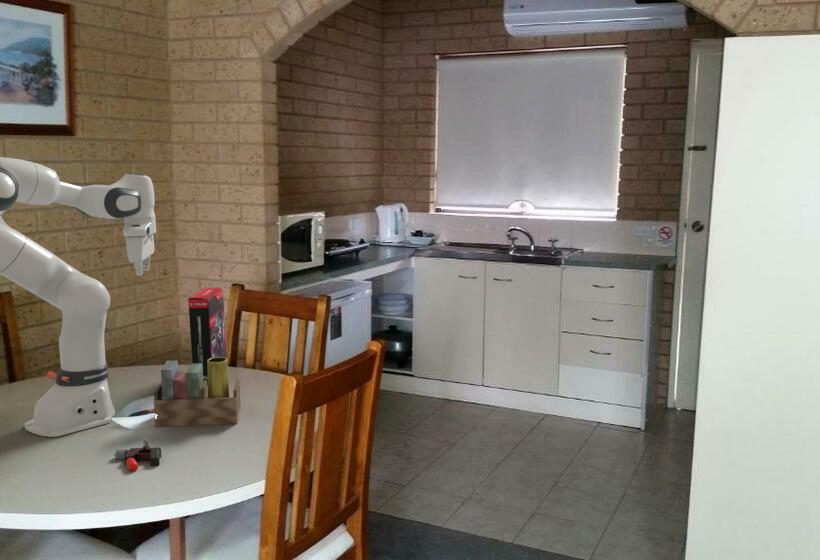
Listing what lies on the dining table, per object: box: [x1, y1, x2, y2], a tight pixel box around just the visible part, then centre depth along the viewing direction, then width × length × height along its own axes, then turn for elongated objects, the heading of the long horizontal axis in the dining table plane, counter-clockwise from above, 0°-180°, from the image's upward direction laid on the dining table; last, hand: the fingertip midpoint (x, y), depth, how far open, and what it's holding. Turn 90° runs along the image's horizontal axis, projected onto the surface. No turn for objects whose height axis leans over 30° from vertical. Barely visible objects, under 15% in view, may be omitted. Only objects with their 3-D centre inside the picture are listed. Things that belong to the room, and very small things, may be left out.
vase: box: [207, 357, 230, 398], centre depth 203 cm, size 6×6×14 cm
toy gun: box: [112, 436, 162, 472], centre depth 175 cm, size 10×12×5 cm
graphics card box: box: [187, 287, 228, 384], centre depth 239 cm, size 17×7×27 cm, turn 179°
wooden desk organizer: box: [153, 360, 242, 428], centre depth 203 cm, size 21×11×15 cm, turn 97°
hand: (143, 272), depth 230 cm, fingers open, 8 cm apart
